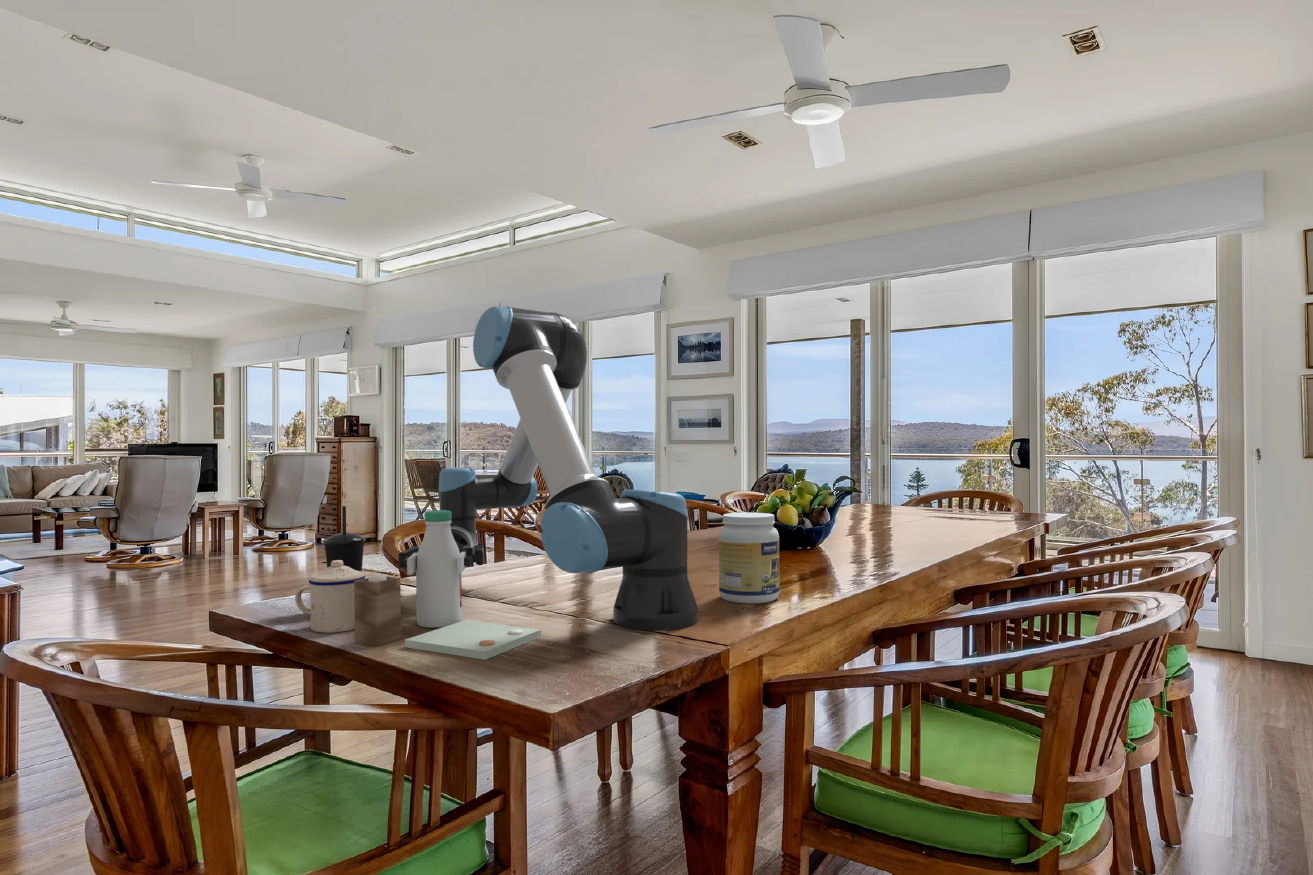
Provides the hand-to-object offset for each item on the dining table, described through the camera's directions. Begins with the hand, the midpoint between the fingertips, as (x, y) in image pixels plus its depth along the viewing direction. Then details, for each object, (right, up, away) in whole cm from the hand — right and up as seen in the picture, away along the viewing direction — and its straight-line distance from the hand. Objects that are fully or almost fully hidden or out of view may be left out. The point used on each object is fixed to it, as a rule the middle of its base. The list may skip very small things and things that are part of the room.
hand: (434, 566), depth 129 cm
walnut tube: (-7, -11, -6) cm, 15 cm away
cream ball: (-7, -3, -6) cm, 10 cm away
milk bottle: (-1, -11, +5) cm, 12 cm away
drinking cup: (-22, -12, +17) cm, 30 cm away
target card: (+9, -11, -8) cm, 16 cm away
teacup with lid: (-19, -12, +3) cm, 23 cm away
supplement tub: (+57, -11, +23) cm, 62 cm away
